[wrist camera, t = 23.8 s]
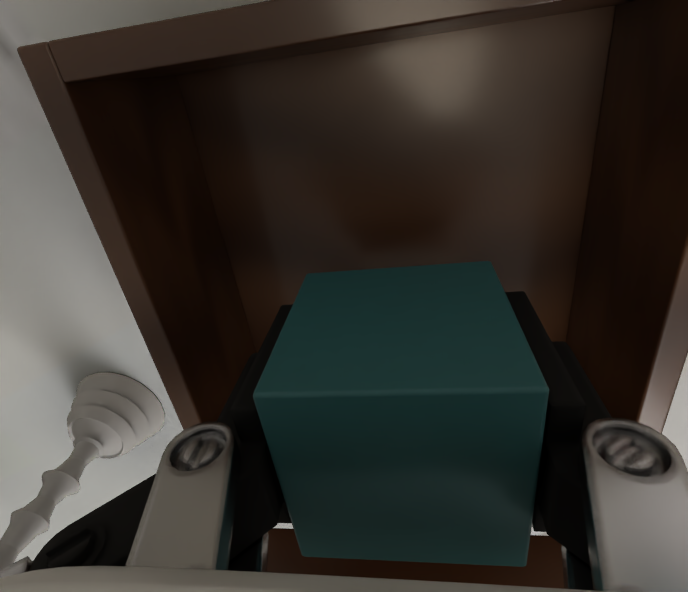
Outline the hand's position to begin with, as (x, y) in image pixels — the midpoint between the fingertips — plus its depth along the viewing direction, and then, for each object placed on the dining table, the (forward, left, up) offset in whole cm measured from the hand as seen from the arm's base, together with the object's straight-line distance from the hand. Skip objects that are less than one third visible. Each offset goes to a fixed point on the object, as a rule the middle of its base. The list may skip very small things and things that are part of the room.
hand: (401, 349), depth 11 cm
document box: (0, 0, -7) cm, 7 cm away
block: (0, 0, 0) cm, 0 cm away
